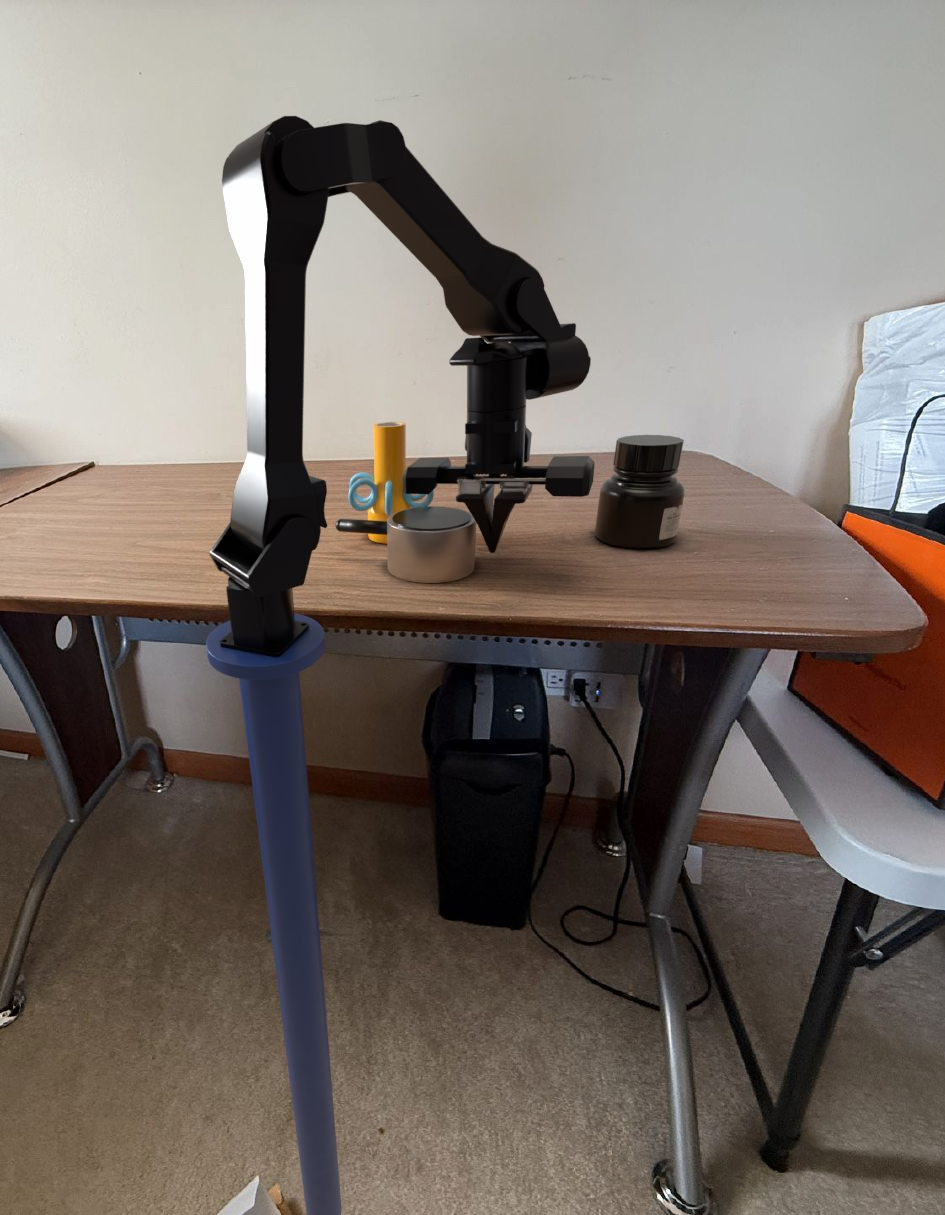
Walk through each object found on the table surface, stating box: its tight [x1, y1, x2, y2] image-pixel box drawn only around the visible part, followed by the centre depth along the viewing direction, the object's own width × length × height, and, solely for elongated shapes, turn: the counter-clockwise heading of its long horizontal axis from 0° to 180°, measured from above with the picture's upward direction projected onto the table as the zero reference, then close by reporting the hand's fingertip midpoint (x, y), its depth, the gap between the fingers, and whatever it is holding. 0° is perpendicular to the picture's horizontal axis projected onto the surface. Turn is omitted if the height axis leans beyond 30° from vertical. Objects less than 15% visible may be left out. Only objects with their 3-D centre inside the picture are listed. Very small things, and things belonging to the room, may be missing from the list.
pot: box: [334, 505, 477, 584], centre depth 74 cm, size 17×10×6 cm, turn 64°
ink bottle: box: [594, 434, 686, 549], centre depth 75 cm, size 10×9×12 cm
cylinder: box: [347, 421, 435, 545], centre depth 82 cm, size 12×10×15 cm
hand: (493, 551), depth 70 cm, fingers closed
